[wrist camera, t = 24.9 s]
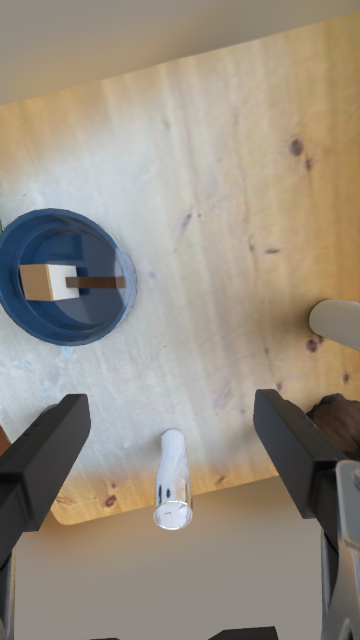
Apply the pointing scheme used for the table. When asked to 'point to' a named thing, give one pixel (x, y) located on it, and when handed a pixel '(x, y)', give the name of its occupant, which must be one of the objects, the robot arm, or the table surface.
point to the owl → (339, 423)
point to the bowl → (70, 250)
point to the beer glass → (173, 483)
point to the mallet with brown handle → (60, 282)
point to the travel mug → (337, 322)
